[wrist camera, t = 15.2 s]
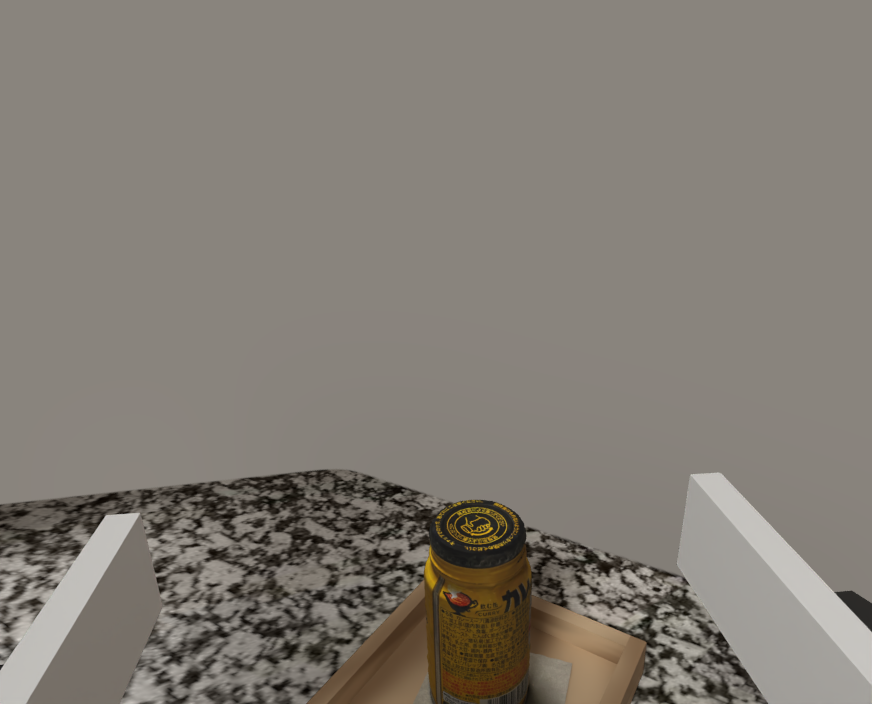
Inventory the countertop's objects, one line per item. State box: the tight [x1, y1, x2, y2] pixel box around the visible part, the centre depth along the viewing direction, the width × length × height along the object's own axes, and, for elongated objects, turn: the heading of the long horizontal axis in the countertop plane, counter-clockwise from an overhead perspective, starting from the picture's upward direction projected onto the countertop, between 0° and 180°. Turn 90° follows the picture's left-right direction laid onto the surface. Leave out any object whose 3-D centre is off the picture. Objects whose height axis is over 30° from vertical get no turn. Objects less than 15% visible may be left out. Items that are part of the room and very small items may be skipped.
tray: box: [306, 580, 647, 704], centre depth 37 cm, size 15×15×2 cm
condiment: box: [413, 500, 572, 704], centre depth 35 cm, size 7×8×12 cm
